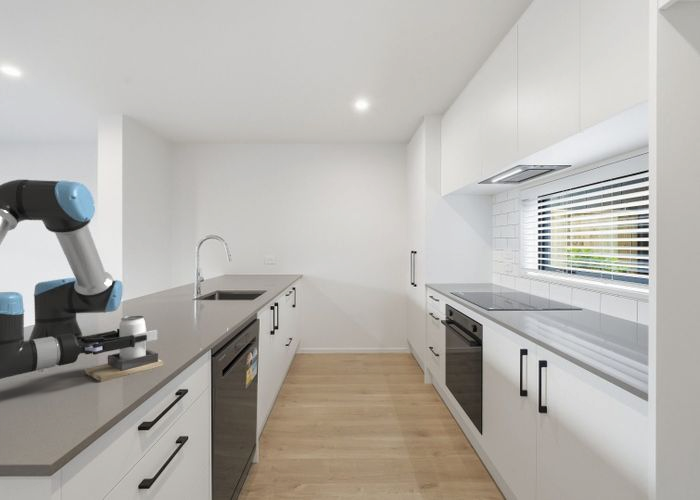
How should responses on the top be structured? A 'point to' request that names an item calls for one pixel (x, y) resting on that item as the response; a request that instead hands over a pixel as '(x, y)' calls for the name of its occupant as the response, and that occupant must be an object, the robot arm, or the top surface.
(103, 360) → the top surface
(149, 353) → the seat block
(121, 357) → the can
